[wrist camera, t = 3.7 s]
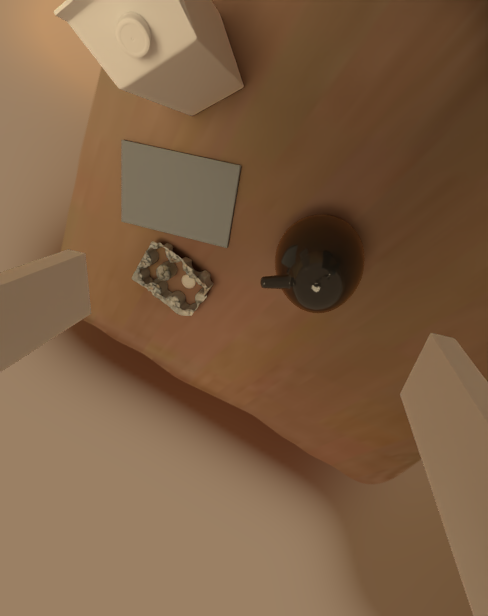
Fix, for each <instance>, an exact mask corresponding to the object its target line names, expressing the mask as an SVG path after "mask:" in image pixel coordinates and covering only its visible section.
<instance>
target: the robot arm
mask: <svg viewBox="0 0 488 616" xmlns="http://www.w3.org/2000/svg"><path fill="white" fill-rule="evenodd" d="M90 314H91V306H90V296H89V286H88V276H87V265H86V255H85V253H82V252H77V251H73V250H69V249H68V250H65V251H62V252H59V253H56V254H53V255H51V256H48V257H45V258H42V259H39V260H36V261H33V262H30V263H27V264H24V265H21V266H18V267H15V268H12V269H9V270H6V271H3V272H0V372H2V371H3V370H5V369H6V368H8V367H9V366H11V365H12V364H14V363H15V362H17V361H19V360H20V359H22V358H23V357H25V356H26V355H28V354H29V353H31V352H32V351H34V350H35V349H37V348H38V347H40V346H42V345H43V344H45V343H46V342H48V341H49V340H51V339H53V338H54V337H56V336H57V335H59V334H60V333H62V332H63V331H65V330H66V329H68V328H70V327H71V326H73V325H74V324H76V323H77V322H79V321H80V320H82V319H83V318H85V317H87V316H88V315H90ZM400 396H401V399H402V402H403V405H404V408H405V411H406V414H407V417H408V420H409V423H410V426H411V429H412V432H413V435H414V438H415V441H416V444H417V447H418V450H419V453H420V456H421V459H422V462H423V465H424V468H425V471H426V474H427V477H428V480H429V483H430V486H431V489H432V492H433V495H434V498H435V501H436V504H437V507H438V510H439V513H440V516H441V519H442V522H443V525H444V528H445V531H446V534H447V538H448V541H449V543H450V547H451V549H452V553H453V555H454V558H455V561H456V565H457V568H458V570H459V573H460V577H461V579H462V583H463V586H464V589H465V592H466V595H467V598H468V601H469V604H470V607H471V610H472V613H473V616H488V382H487V381H486V380H485V378H484V377H483V376H482V374H481V373H480V372H479V370H478V369H477V367H476V366H475V365H474V363H473V362H472V361H471V359H470V358H469V357H468V355H467V354H466V353H465V351H464V350H463V349H462V347H461V346H460V345H459V343H458V342H457V341H456V339H455V338H451V337H447V336H442V335H438V334H434V333H430V335H429V337H428V339H427V341H426V343H425V345H424V347H423V349H422V351H421V353H420V355H419V357H418V359H417V361H416V363H415V365H414V367H413V369H412V371H411V373H410V375H409V377H408V379H407V381H406V383H405V385H404V387H403V389H402V391H401V393H400Z"/></svg>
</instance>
